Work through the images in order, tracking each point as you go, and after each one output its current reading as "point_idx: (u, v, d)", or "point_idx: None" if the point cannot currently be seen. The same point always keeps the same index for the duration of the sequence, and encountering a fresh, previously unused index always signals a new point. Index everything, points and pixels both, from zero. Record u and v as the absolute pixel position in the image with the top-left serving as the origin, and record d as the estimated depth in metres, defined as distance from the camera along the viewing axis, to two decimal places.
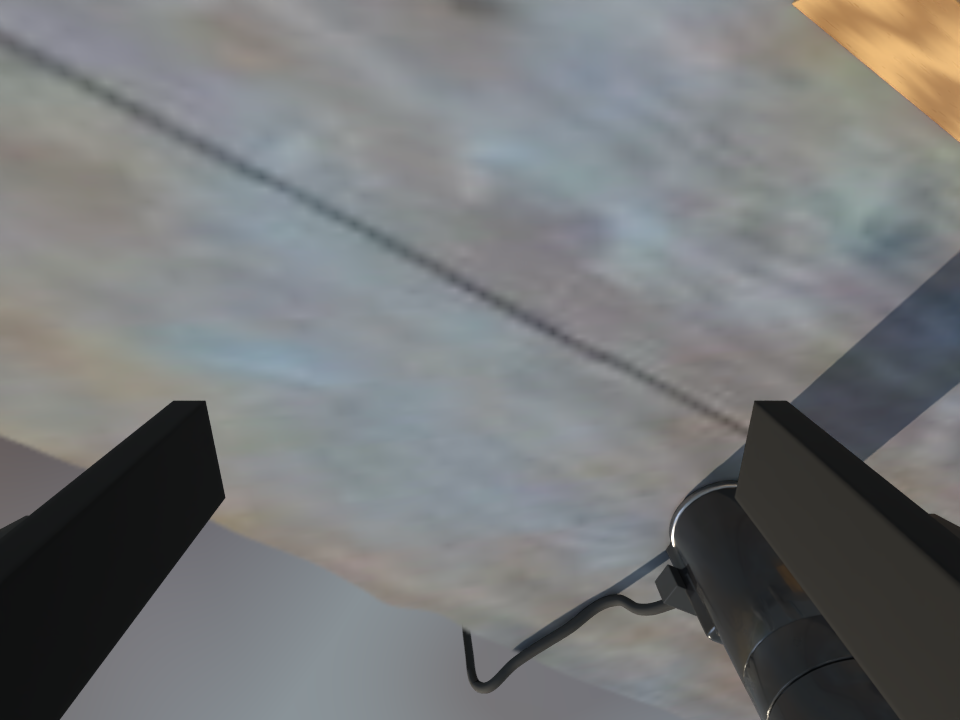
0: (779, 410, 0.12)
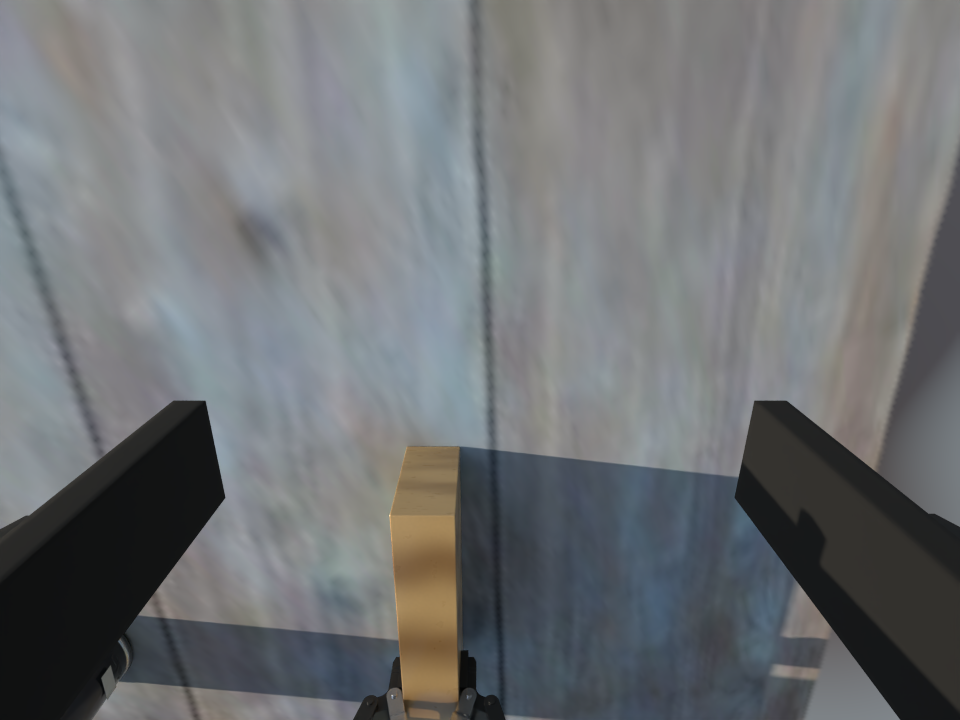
0: (779, 410, 0.12)
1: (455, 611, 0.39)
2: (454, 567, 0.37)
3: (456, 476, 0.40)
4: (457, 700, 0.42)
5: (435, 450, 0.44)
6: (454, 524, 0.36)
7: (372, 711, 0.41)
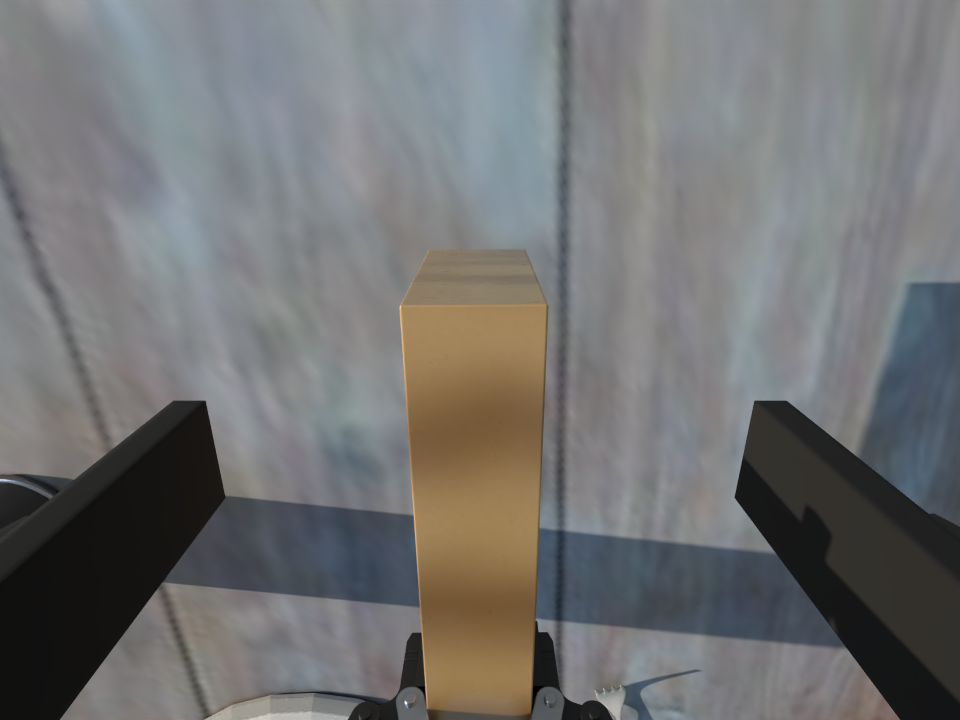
0: (779, 410, 0.12)
1: (535, 534, 0.19)
2: (539, 434, 0.17)
3: (531, 270, 0.20)
4: (529, 711, 0.22)
5: (481, 251, 0.24)
6: (545, 327, 0.16)
7: None
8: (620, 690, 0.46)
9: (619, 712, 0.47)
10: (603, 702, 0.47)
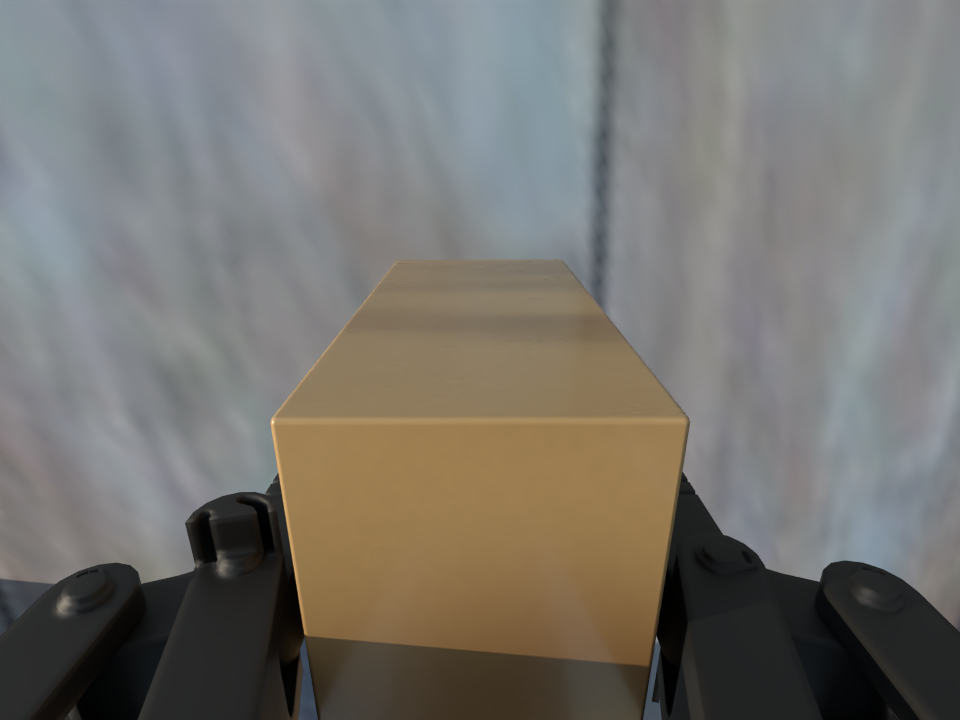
0: None
1: None
2: (637, 712, 0.07)
3: (592, 302, 0.10)
4: None
5: (487, 263, 0.13)
6: (677, 477, 0.06)
7: None
8: None
9: None
10: None
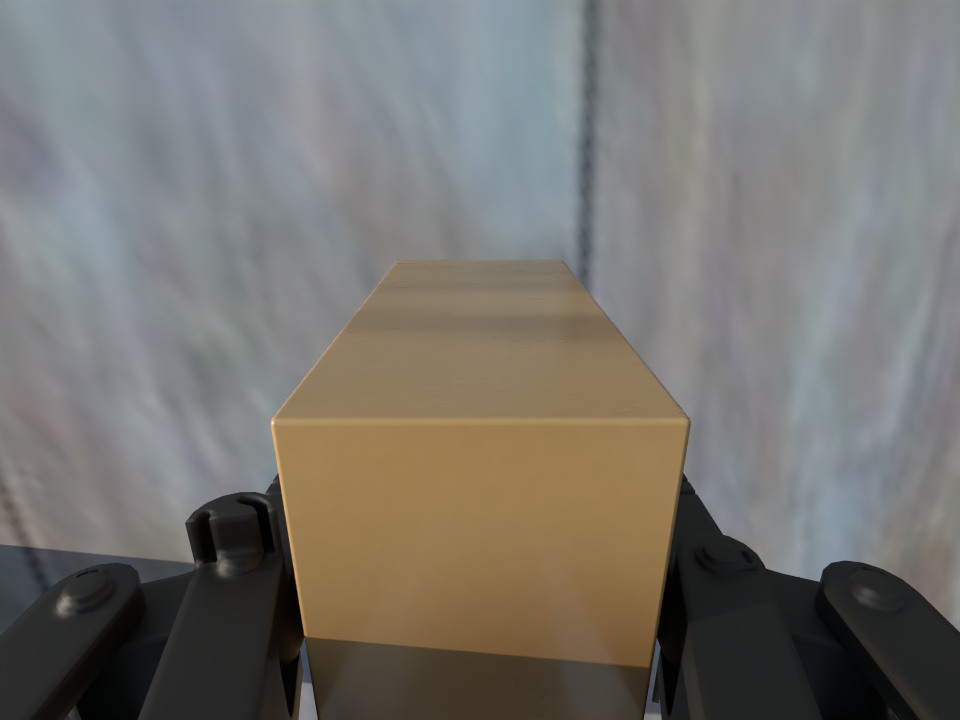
0: None
1: None
2: (637, 713, 0.07)
3: (593, 302, 0.10)
4: None
5: (487, 263, 0.13)
6: (677, 478, 0.06)
7: None
8: None
9: None
10: None
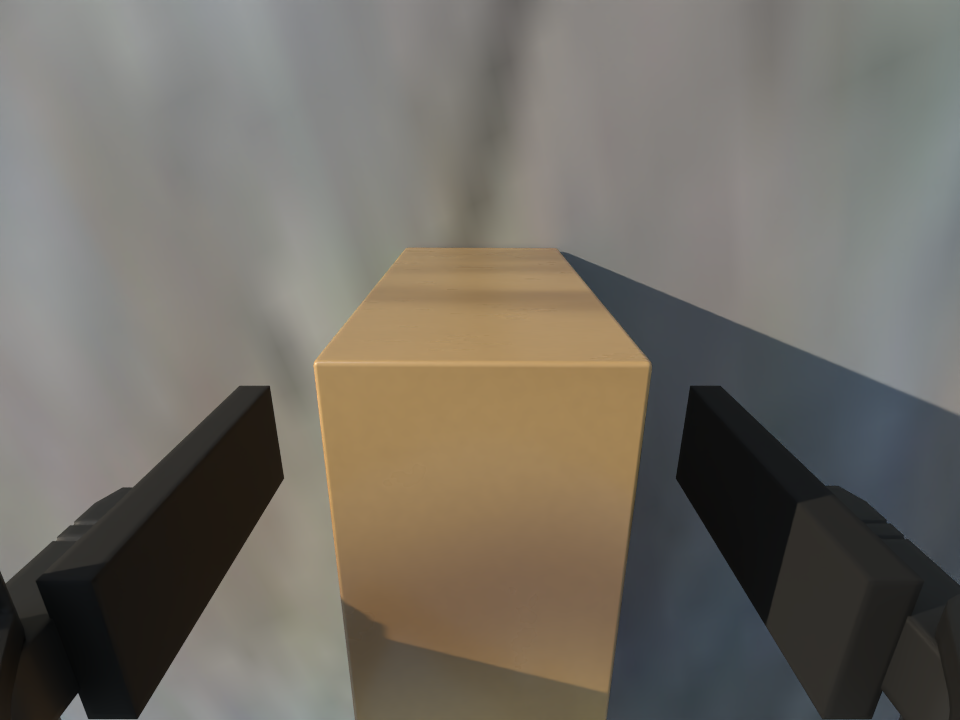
0: (711, 394, 0.13)
1: None
2: (613, 620, 0.08)
3: (581, 282, 0.11)
4: None
5: (488, 251, 0.15)
6: (642, 412, 0.07)
7: None
8: None
9: None
10: None
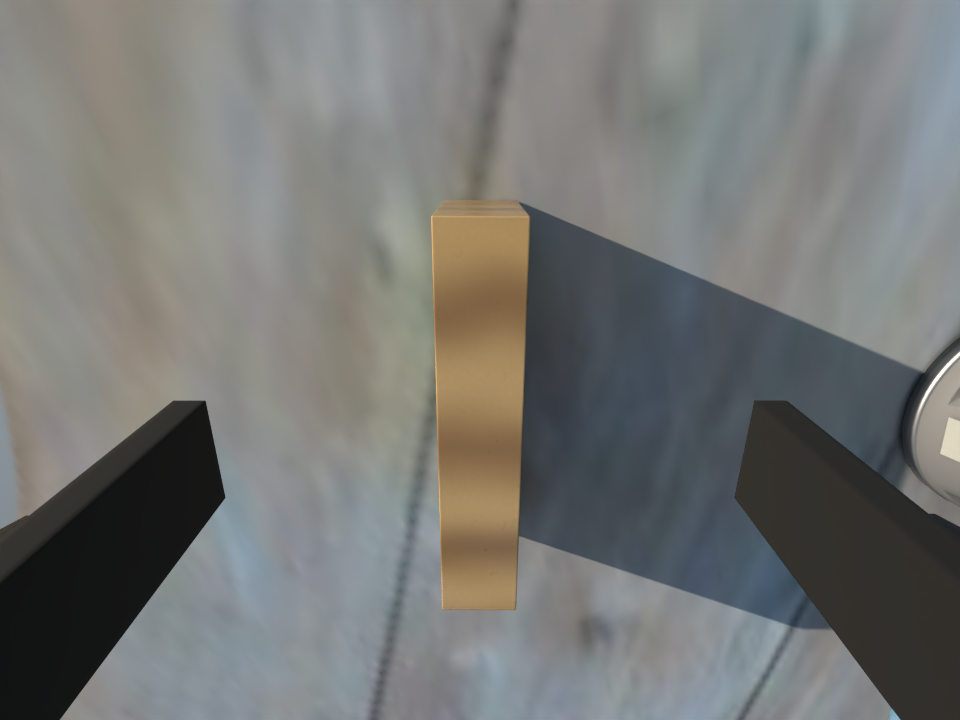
0: (779, 410, 0.12)
1: (521, 389, 0.27)
2: (524, 311, 0.25)
3: (520, 206, 0.28)
4: (516, 539, 0.30)
5: (484, 201, 0.31)
6: (528, 232, 0.24)
7: None
8: None
9: None
10: None
